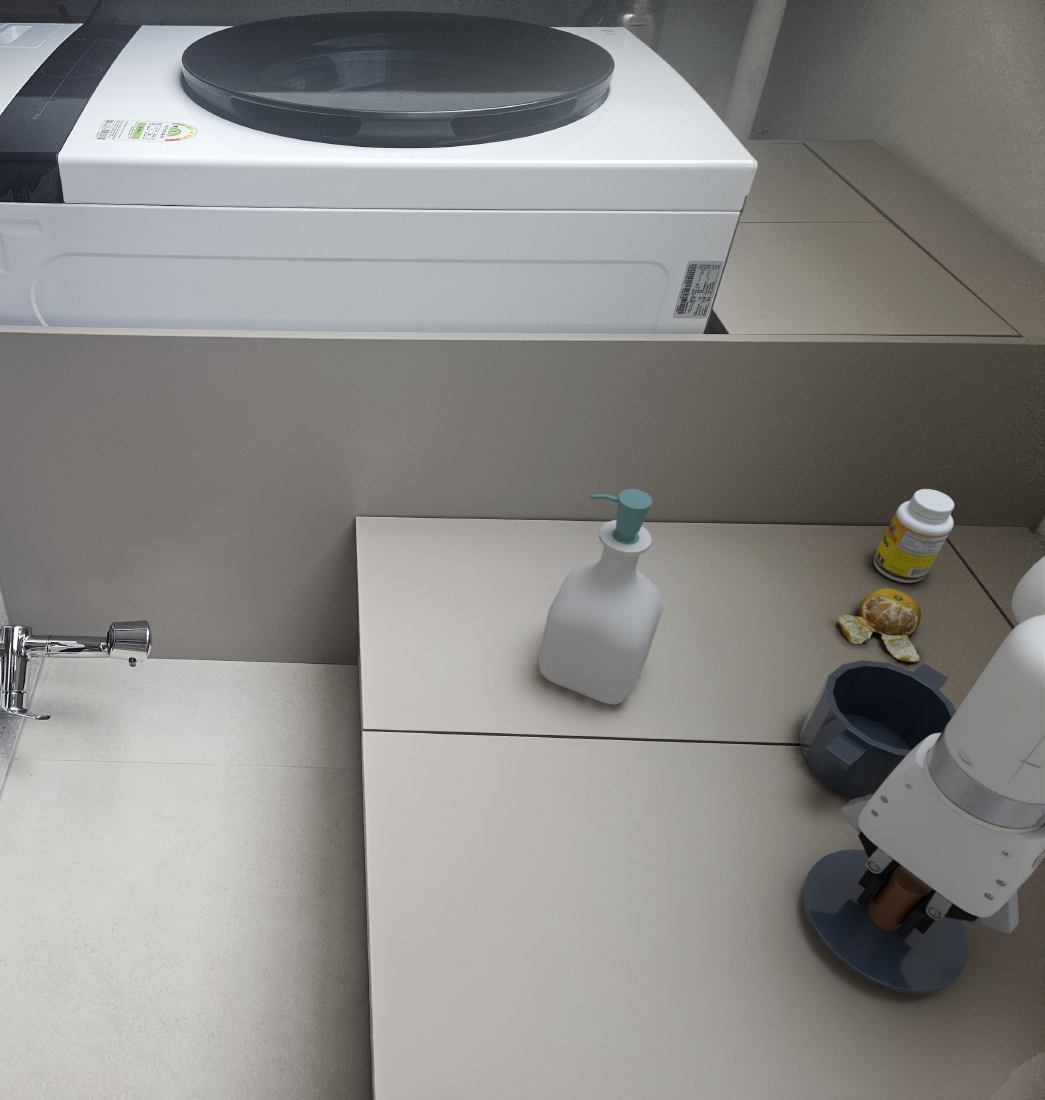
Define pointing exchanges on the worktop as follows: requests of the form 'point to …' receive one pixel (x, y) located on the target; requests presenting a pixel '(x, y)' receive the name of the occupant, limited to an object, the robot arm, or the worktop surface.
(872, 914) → the lid
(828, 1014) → the worktop surface
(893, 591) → the fruit
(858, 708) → the pot
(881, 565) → the supplement bottle
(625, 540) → the soap bottle
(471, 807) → the worktop surface
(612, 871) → the worktop surface
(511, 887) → the worktop surface
